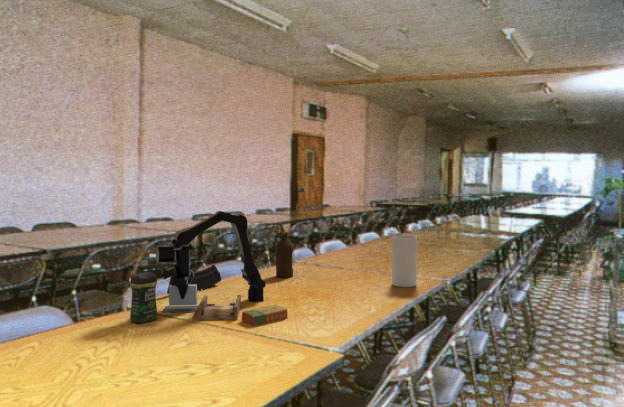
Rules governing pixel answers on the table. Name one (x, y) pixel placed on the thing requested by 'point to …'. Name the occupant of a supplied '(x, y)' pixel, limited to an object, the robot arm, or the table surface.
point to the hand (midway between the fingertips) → (183, 297)
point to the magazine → (204, 278)
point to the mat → (180, 309)
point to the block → (188, 299)
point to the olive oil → (284, 257)
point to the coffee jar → (143, 297)
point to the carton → (264, 315)
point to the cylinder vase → (404, 261)
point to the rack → (218, 317)
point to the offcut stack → (218, 310)
